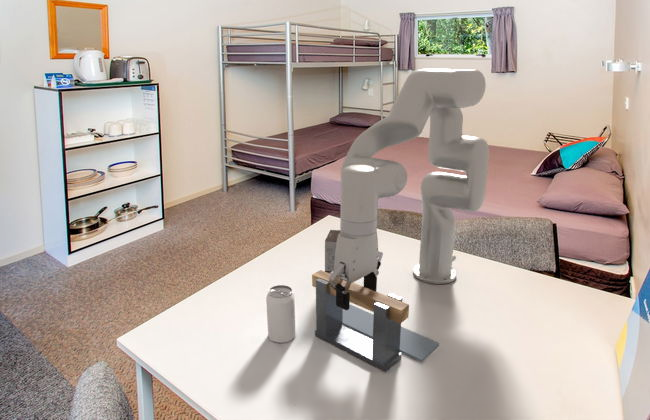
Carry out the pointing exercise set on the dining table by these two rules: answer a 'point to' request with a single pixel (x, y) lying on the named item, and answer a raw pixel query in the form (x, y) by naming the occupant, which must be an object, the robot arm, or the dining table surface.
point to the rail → (368, 298)
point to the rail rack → (373, 352)
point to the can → (281, 314)
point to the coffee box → (331, 250)
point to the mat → (409, 340)
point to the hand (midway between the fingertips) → (356, 299)
